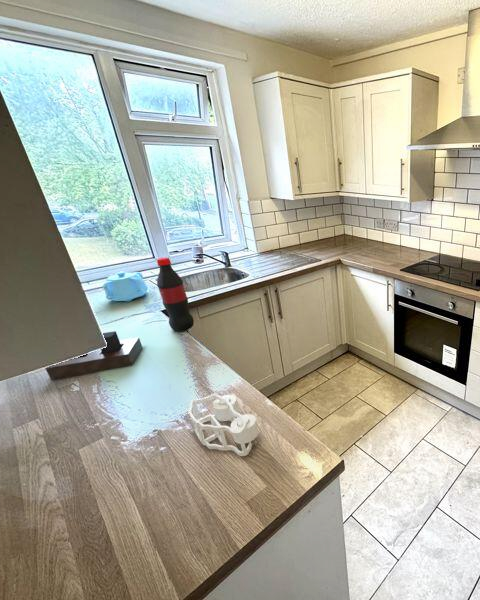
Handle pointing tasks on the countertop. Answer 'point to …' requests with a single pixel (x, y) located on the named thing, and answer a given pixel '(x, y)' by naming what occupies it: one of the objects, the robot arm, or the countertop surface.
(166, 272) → the cola bottle
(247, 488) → the countertop surface
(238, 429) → the skeletal toy car
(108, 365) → the walnut base
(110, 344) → the black upright block
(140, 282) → the decorative pot
